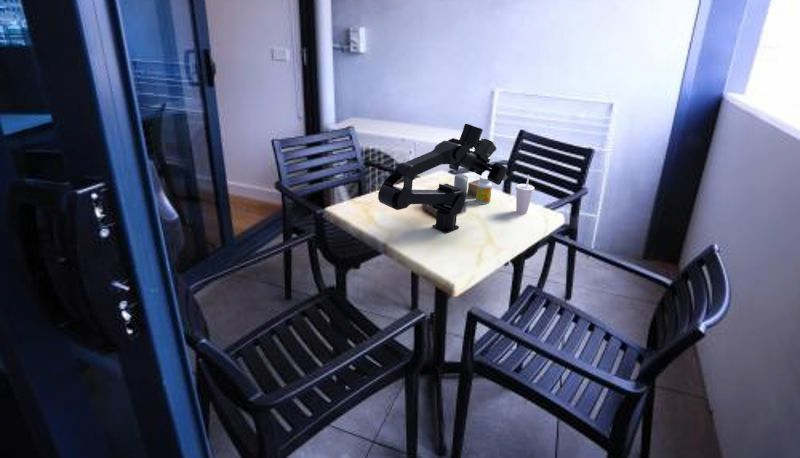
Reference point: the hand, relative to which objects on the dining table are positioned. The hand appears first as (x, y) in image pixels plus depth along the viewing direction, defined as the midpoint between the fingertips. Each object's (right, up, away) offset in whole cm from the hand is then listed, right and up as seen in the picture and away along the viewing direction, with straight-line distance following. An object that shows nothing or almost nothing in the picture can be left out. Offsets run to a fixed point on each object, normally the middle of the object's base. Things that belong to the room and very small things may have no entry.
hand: (497, 173), depth 162 cm
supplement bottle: (-2, -9, +16) cm, 18 cm away
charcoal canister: (-10, -7, +20) cm, 23 cm away
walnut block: (-3, -6, +22) cm, 23 cm away
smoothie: (+10, -13, +7) cm, 18 cm away
